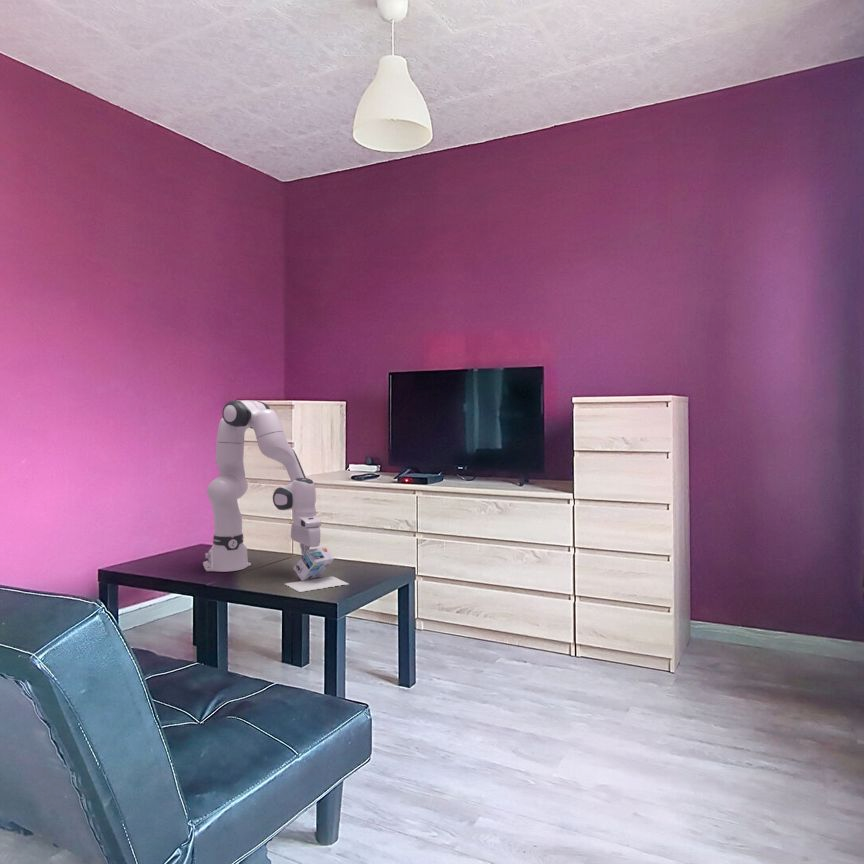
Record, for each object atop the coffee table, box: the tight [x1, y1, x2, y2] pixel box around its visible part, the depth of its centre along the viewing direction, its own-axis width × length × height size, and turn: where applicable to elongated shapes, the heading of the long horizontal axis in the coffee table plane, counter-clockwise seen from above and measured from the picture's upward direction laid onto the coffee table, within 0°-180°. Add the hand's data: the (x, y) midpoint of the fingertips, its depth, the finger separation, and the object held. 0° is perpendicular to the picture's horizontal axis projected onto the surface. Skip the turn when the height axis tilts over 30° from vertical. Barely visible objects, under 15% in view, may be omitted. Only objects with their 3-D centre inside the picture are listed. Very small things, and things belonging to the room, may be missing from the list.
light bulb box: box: [293, 546, 335, 581], centre depth 257 cm, size 11×7×11 cm
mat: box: [284, 576, 350, 594], centre depth 250 cm, size 14×20×1 cm
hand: (305, 554), depth 259 cm, fingers closed
